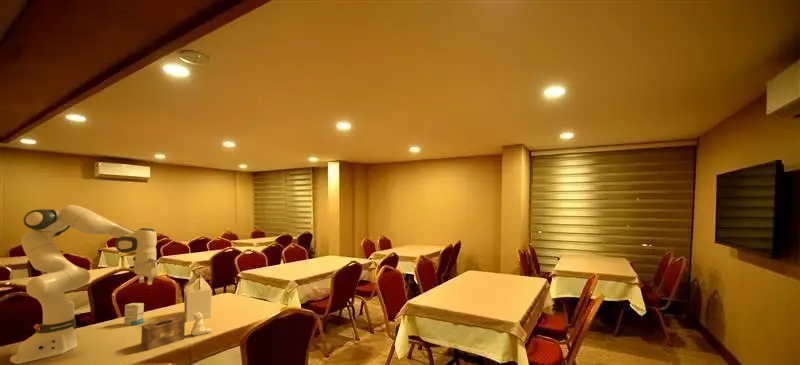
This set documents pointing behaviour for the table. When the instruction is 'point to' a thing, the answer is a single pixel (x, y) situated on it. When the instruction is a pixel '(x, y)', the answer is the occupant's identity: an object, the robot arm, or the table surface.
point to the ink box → (134, 313)
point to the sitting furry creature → (199, 325)
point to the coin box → (162, 332)
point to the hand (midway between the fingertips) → (145, 283)
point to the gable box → (197, 298)
